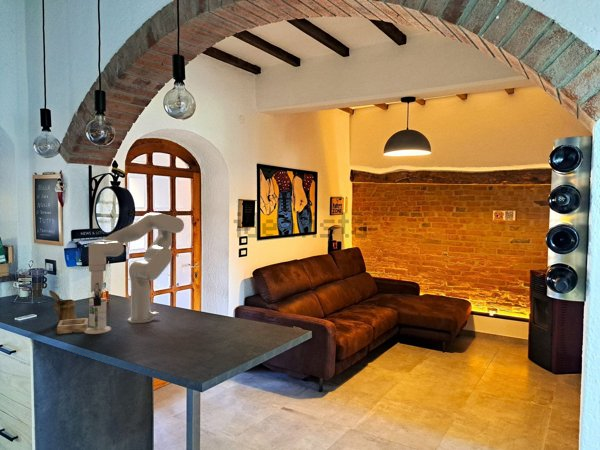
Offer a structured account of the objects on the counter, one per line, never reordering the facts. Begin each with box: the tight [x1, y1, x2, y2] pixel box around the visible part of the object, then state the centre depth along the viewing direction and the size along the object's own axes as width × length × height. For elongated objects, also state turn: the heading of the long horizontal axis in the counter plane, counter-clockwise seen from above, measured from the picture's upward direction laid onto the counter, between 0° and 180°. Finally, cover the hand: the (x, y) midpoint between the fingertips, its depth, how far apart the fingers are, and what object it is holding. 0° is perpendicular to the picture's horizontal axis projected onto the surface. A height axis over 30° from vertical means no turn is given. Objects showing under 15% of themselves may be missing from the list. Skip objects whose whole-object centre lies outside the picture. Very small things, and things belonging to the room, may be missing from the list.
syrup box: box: [88, 297, 107, 330], centre depth 210 cm, size 6×6×14 cm
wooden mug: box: [49, 289, 78, 325], centre depth 222 cm, size 9×14×18 cm, turn 149°
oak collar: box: [56, 317, 89, 335], centre depth 212 cm, size 12×12×4 cm
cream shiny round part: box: [83, 325, 112, 335], centre depth 211 cm, size 12×12×1 cm
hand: (97, 303), depth 210 cm, fingers closed on syrup box, 7 cm apart
